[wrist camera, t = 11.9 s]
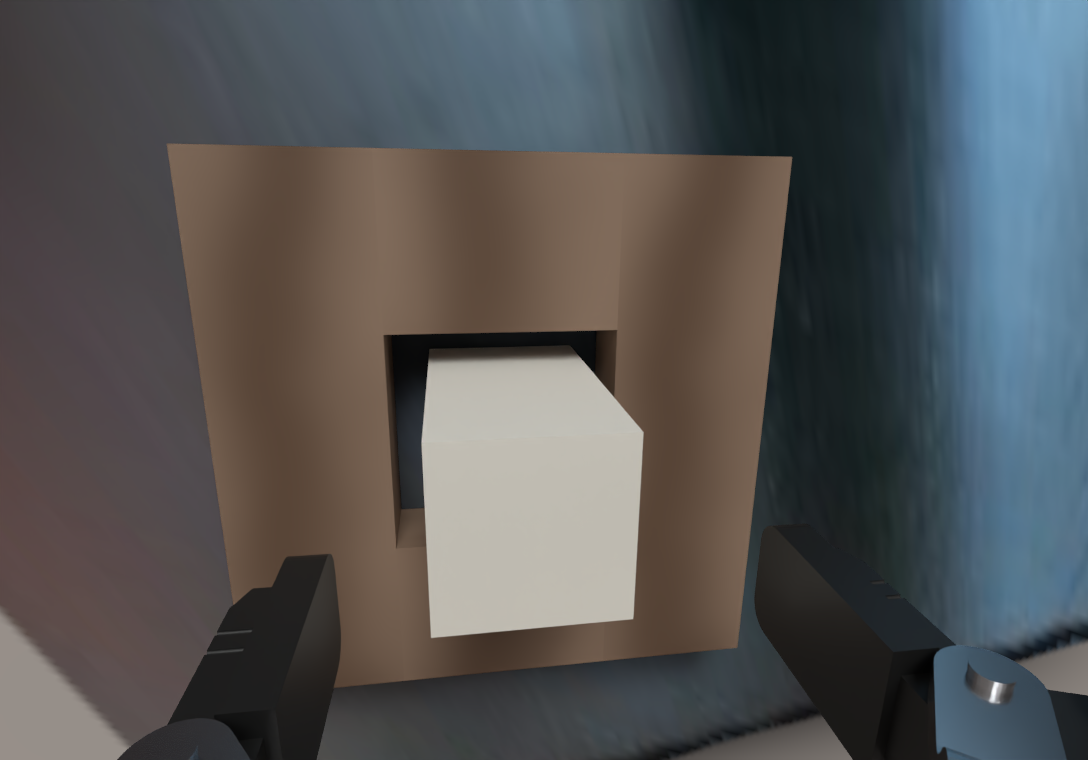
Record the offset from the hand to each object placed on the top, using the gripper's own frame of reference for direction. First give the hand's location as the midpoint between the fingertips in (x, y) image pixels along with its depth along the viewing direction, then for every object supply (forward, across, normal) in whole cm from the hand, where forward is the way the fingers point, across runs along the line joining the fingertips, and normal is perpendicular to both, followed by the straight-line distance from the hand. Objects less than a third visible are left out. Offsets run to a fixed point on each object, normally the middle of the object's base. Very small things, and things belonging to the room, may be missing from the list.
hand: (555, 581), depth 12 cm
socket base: (+10, 0, 0) cm, 10 cm away
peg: (+10, 0, 0) cm, 10 cm away
